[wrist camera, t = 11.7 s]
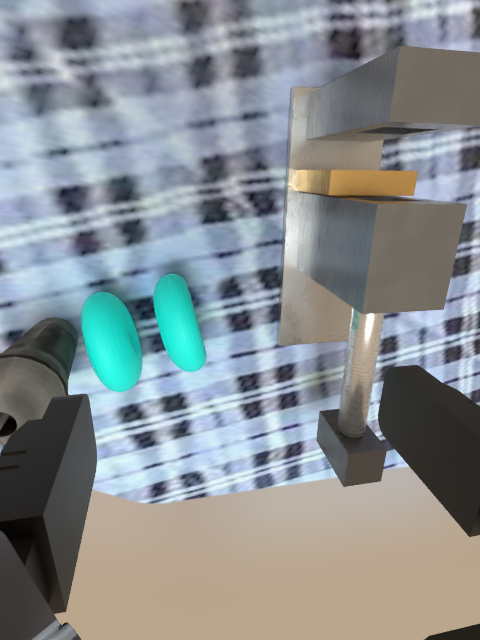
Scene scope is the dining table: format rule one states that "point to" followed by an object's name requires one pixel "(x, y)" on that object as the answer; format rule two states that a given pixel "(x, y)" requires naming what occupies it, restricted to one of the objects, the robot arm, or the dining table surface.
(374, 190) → the spacer
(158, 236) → the dining table surface
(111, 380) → the donuts
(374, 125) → the pillow blocks
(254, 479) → the dining table surface
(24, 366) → the beverage cup
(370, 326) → the shaft
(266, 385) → the dining table surface
